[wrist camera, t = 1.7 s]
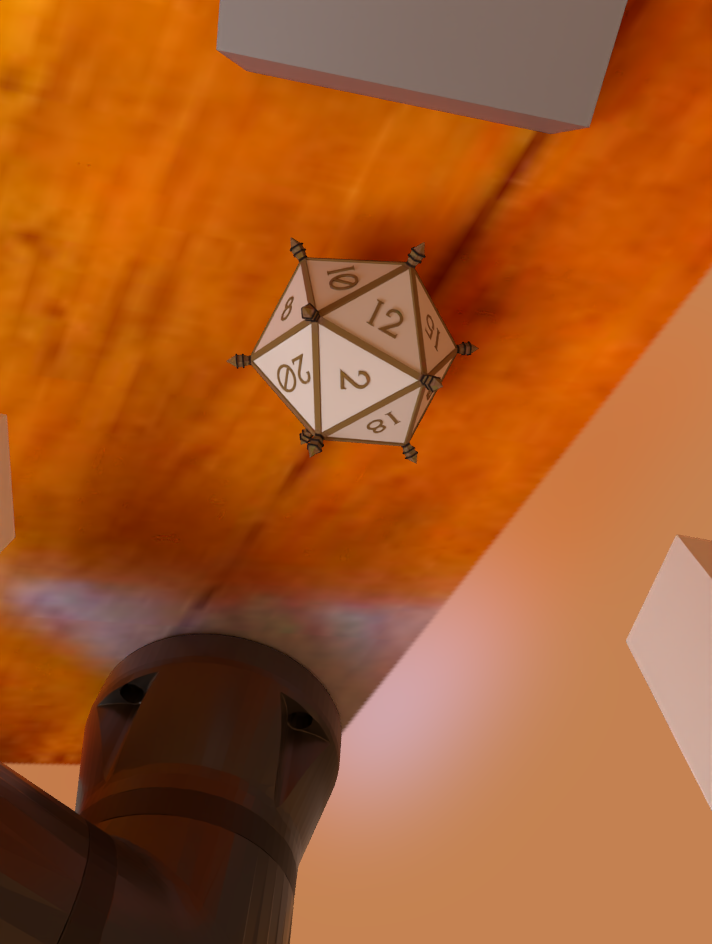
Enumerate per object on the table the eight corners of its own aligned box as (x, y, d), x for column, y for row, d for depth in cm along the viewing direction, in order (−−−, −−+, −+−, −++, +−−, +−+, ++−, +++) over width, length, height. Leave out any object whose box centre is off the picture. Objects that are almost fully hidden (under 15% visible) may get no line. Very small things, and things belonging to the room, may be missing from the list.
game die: (357, 352, 33) (283, 517, 28) (260, 212, 27) (147, 389, 22) (525, 325, 27) (469, 524, 23) (448, 145, 22) (353, 358, 17)
